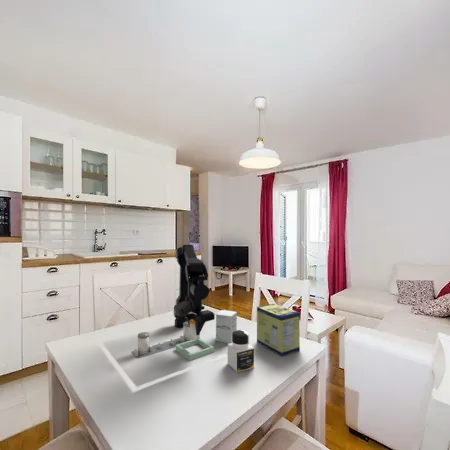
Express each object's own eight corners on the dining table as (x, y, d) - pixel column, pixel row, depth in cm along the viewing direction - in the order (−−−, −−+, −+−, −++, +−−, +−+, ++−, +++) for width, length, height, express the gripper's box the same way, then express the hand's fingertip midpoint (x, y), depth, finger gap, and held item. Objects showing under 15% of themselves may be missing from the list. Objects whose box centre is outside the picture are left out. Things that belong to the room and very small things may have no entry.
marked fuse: (196, 335, 105) (196, 318, 105) (202, 338, 102) (202, 320, 102) (187, 338, 102) (187, 320, 103) (192, 341, 99) (193, 323, 99)
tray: (198, 345, 110) (198, 337, 110) (214, 354, 101) (214, 346, 101) (175, 352, 103) (175, 344, 103) (190, 363, 94) (190, 355, 94)
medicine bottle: (236, 372, 88) (237, 337, 89) (227, 363, 95) (227, 330, 95) (254, 367, 92) (254, 333, 92) (243, 359, 98) (243, 327, 98)
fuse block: (190, 337, 118) (190, 319, 118) (199, 342, 112) (199, 323, 112) (130, 354, 101) (131, 333, 101) (137, 362, 95) (137, 339, 95)
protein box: (273, 337, 118) (273, 303, 119) (300, 350, 105) (300, 312, 106) (256, 342, 113) (256, 306, 113) (281, 357, 100) (281, 316, 100)
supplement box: (215, 343, 111) (215, 314, 112) (221, 337, 118) (222, 309, 119) (231, 346, 109) (231, 316, 109) (237, 339, 115) (237, 311, 116)
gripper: (165, 292, 105) (165, 330, 104) (190, 302, 90) (189, 347, 90) (189, 288, 112) (189, 324, 111) (215, 297, 97) (215, 338, 97)
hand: (194, 333), depth 102 cm, fingers closed on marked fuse, 4 cm apart
